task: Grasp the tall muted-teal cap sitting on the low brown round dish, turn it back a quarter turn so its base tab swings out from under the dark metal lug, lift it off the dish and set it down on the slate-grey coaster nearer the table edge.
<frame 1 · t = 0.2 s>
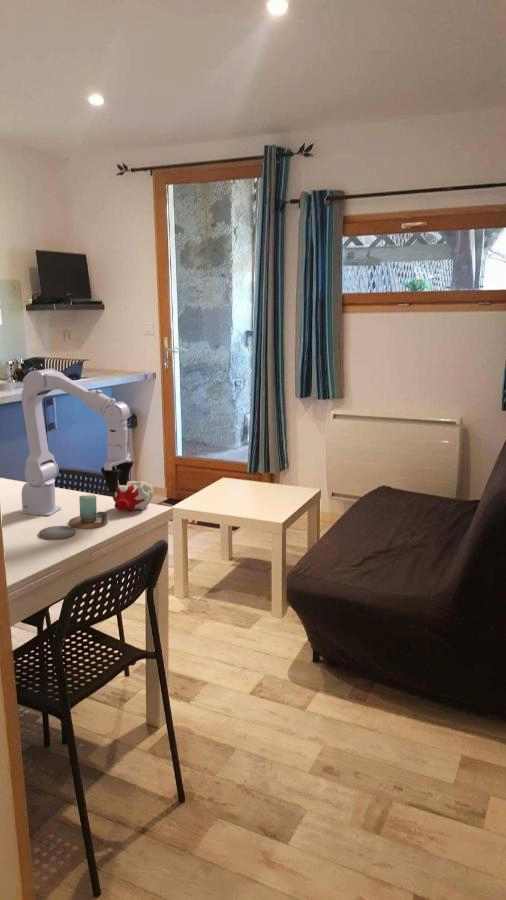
hand: (117, 488, 194), 10 cm above the table, fingers open, 7 cm apart
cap: (88, 516, 193), point 2 cm above the table, touching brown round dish
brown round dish: (88, 522, 193), on the table
multicoloured piece: (130, 510, 206), on the table
coaster: (57, 533, 184), on the table
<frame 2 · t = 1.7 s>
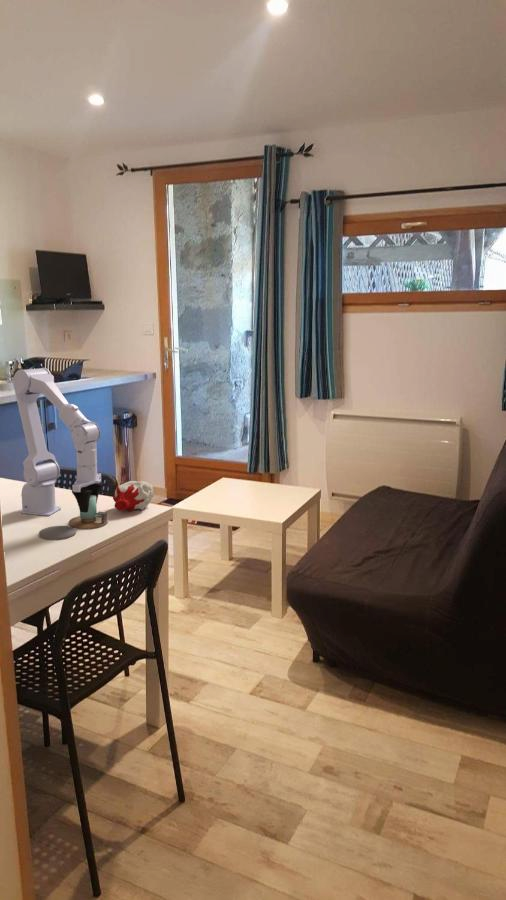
hand: (88, 509, 192), 4 cm above the table, fingers closed on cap, 5 cm apart
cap: (88, 516, 193), point 2 cm above the table, touching gripper, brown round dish
everything else where it was.
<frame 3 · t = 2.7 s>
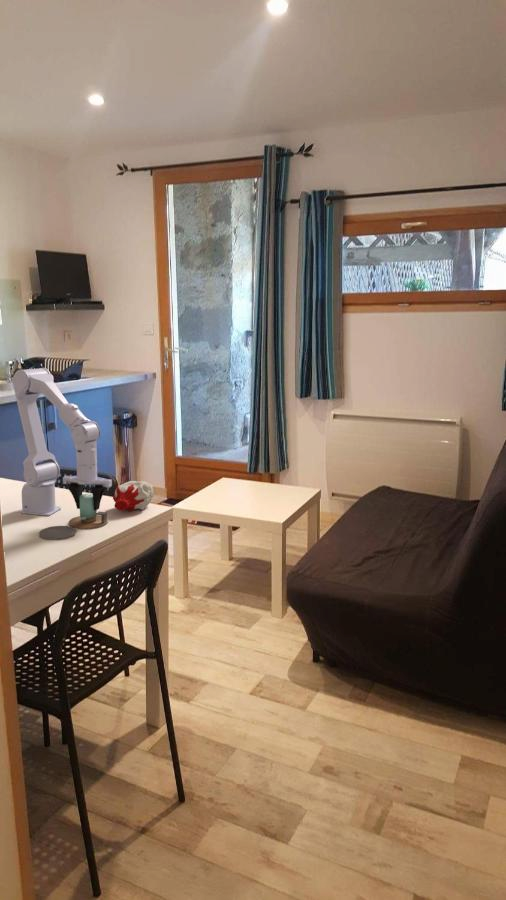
hand: (88, 508, 192), 4 cm above the table, fingers closed on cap, 5 cm apart
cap: (88, 515, 193), point 2 cm above the table, touching gripper
everything else where it was.
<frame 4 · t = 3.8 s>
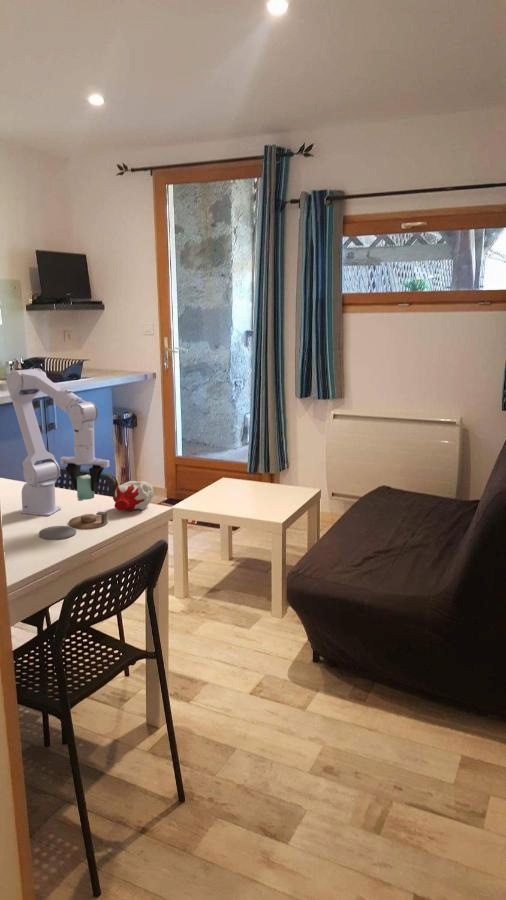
hand: (85, 489, 190), 10 cm above the table, fingers closed on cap, 5 cm apart
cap: (85, 497, 191), point 8 cm above the table, touching gripper
everything else where it was.
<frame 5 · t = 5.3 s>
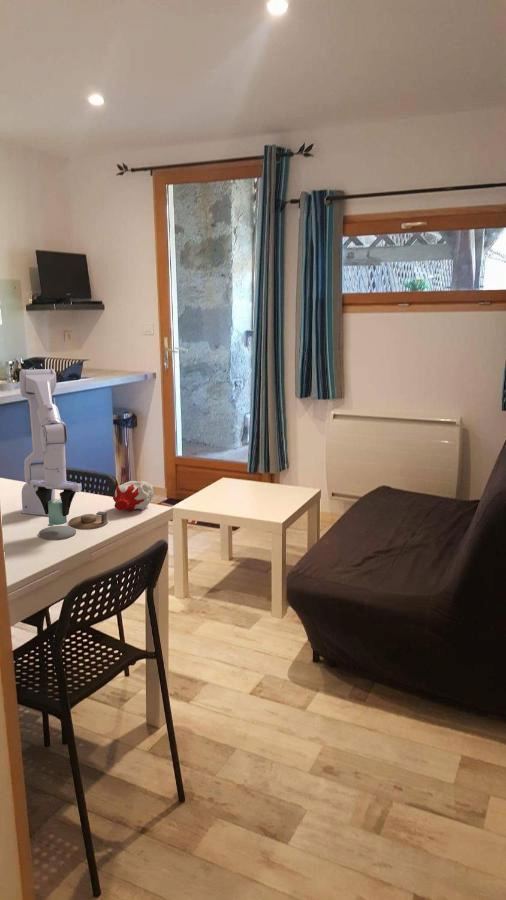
hand: (56, 514, 182), 6 cm above the table, fingers closed on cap, 5 cm apart
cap: (57, 522, 183), point 3 cm above the table, touching gripper
everything else where it was.
when the fingers open (4 cm above the table, at t = 6.2 s): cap stays where it is, resting on coaster.
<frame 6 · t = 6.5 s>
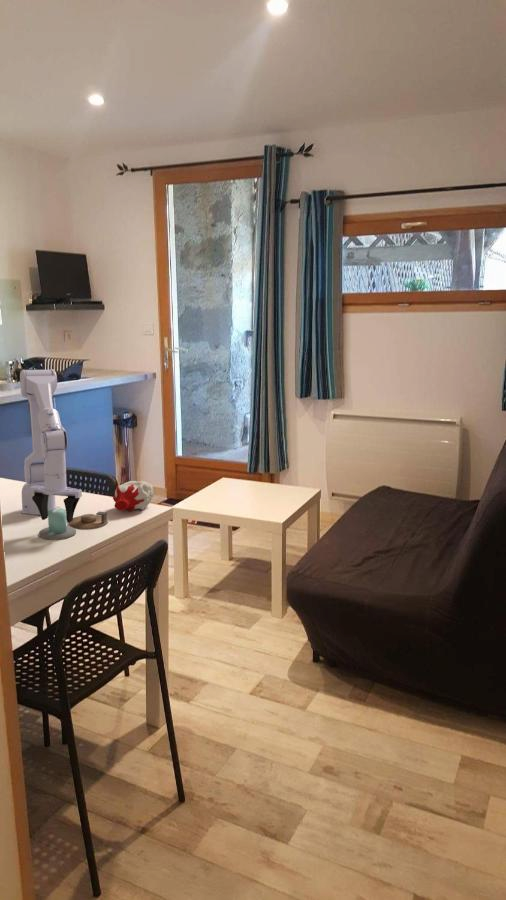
hand: (57, 520, 183), 4 cm above the table, fingers open, 7 cm apart
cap: (57, 531, 184), point 1 cm above the table, touching coaster
everything else where it was.
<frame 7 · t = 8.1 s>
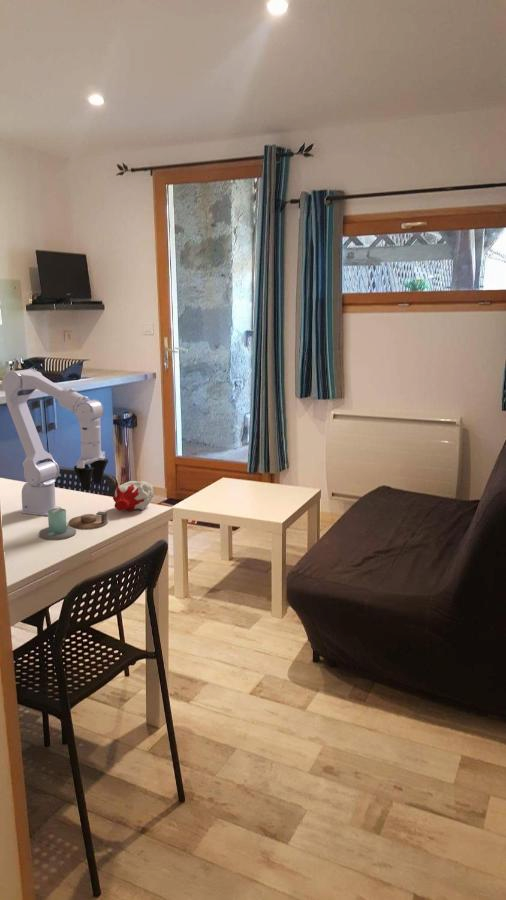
hand: (92, 486, 194), 10 cm above the table, fingers open, 7 cm apart
nothing on the table moved.
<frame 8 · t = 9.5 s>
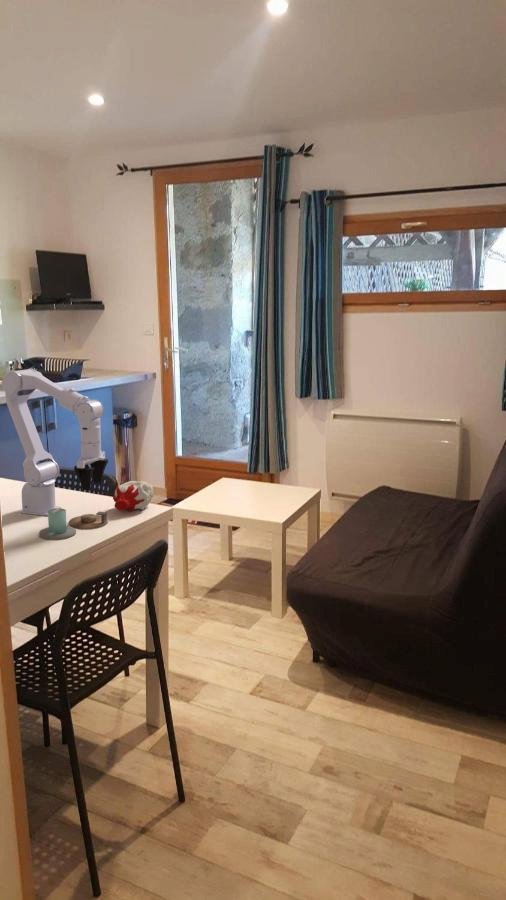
hand: (92, 486, 194), 10 cm above the table, fingers open, 7 cm apart
nothing on the table moved.
at the end: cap inside the target area on the coaster (0.2 cm from its centre), point 0.6 cm above the coaster's base; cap tilted 0°; the gripper is holding nothing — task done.
